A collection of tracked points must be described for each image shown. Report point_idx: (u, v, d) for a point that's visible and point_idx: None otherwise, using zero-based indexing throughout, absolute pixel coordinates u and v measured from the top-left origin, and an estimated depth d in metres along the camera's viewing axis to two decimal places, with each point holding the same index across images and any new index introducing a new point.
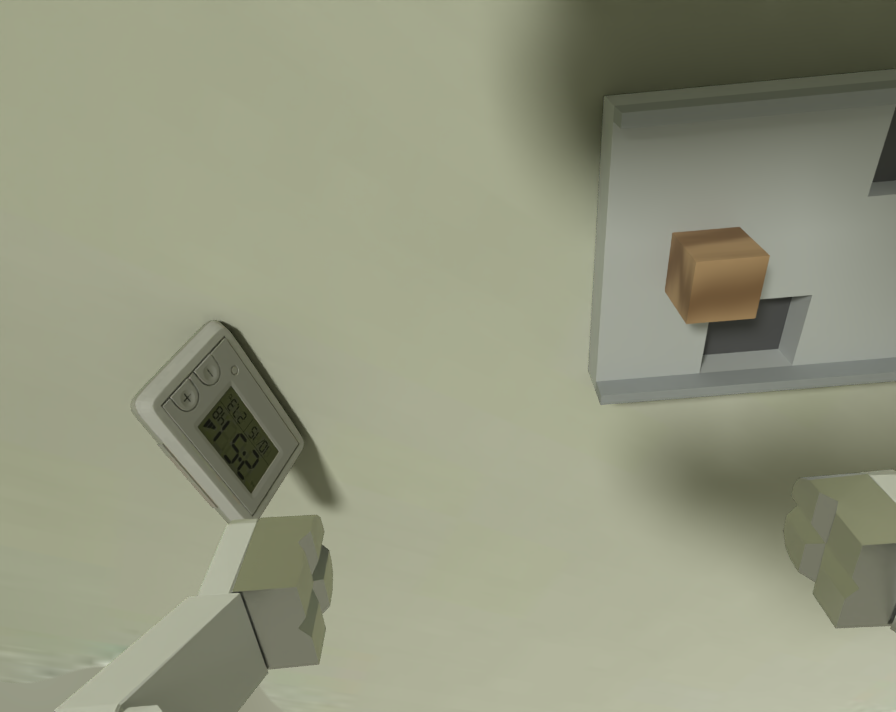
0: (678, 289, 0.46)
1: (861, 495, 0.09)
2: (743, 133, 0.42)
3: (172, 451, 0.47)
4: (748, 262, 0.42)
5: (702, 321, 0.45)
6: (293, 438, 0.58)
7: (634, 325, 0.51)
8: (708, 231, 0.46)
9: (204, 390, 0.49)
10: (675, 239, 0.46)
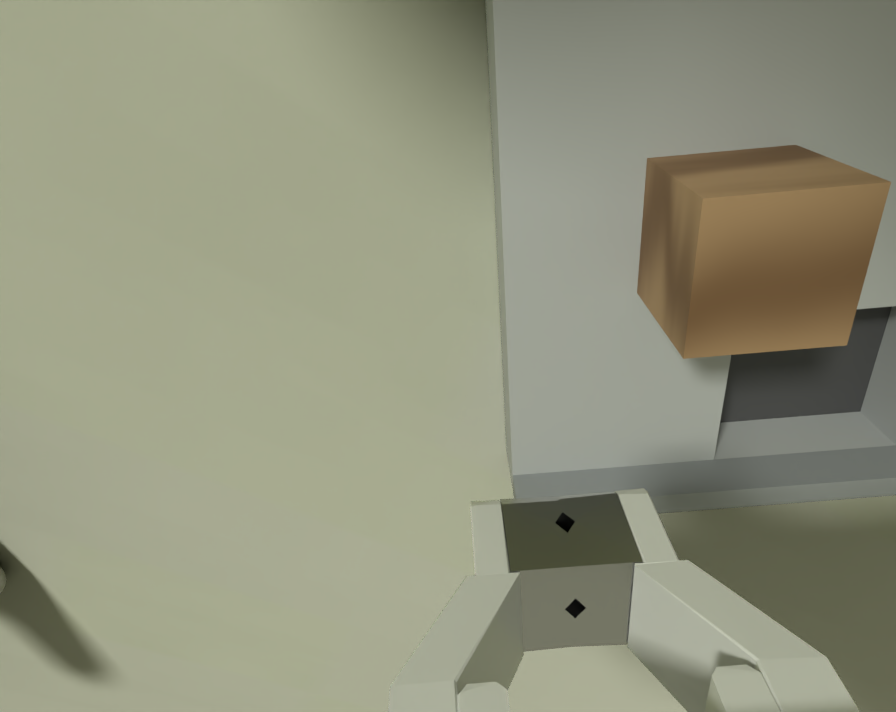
0: (662, 282, 0.20)
1: (599, 515, 0.10)
2: None
3: None
4: (836, 201, 0.17)
5: (721, 352, 0.19)
6: None
7: (578, 364, 0.25)
8: (727, 153, 0.21)
9: None
10: (653, 170, 0.20)
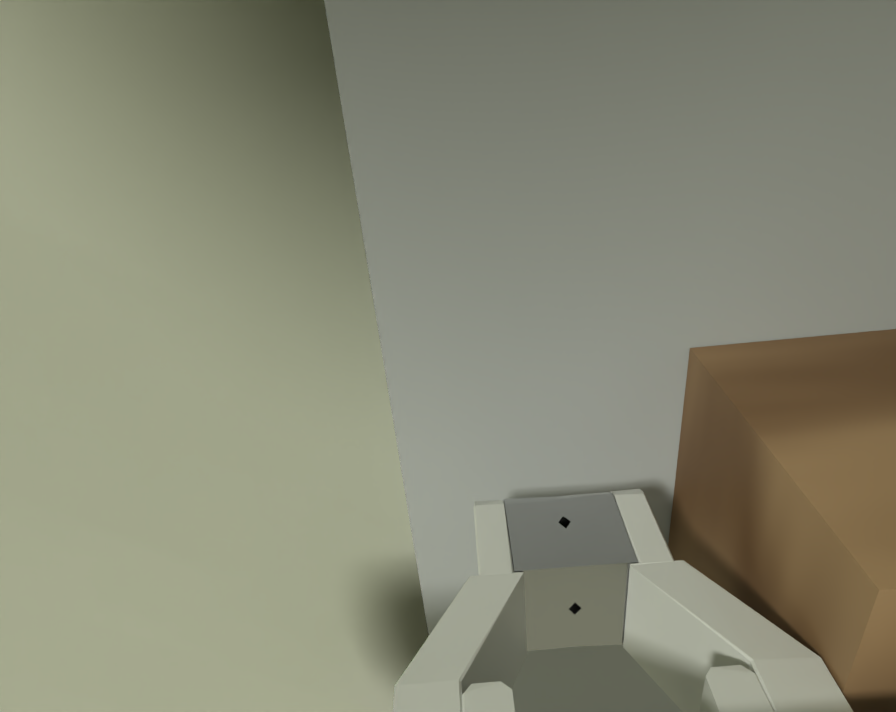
0: None
1: (595, 515, 0.10)
2: None
3: None
4: None
5: None
6: None
7: (555, 657, 0.14)
8: (856, 343, 0.10)
9: None
10: (706, 383, 0.10)
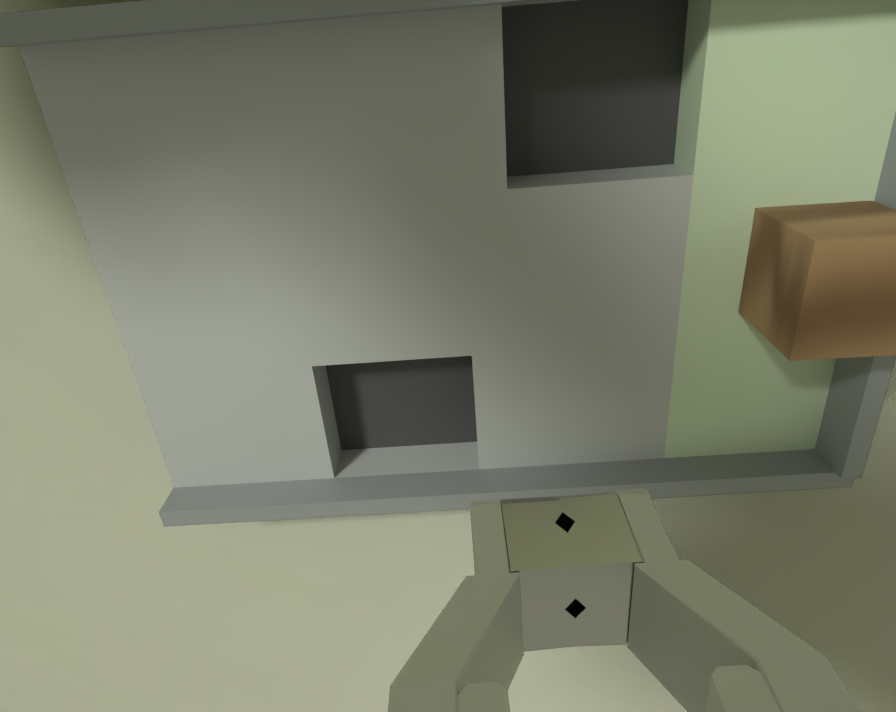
0: (769, 303, 0.26)
1: (599, 515, 0.10)
2: (253, 72, 0.25)
3: None
4: None
5: (819, 356, 0.25)
6: None
7: (198, 399, 0.32)
8: (818, 206, 0.27)
9: None
10: (762, 217, 0.27)
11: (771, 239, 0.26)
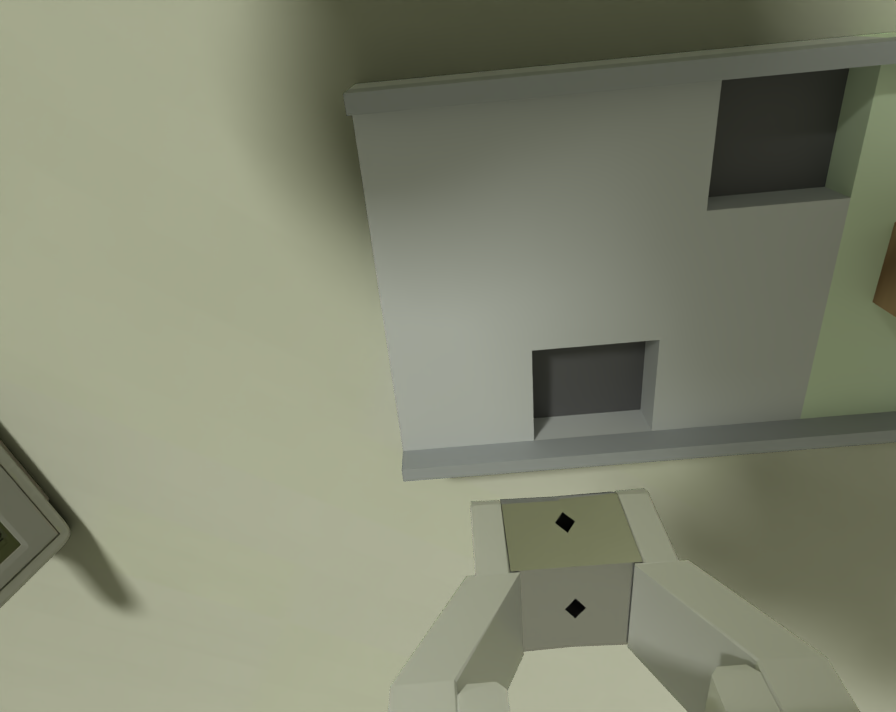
0: None
1: (599, 515, 0.10)
2: (526, 126, 0.32)
3: None
4: None
5: None
6: (49, 527, 0.47)
7: (436, 378, 0.40)
8: None
9: None
10: None
11: None
